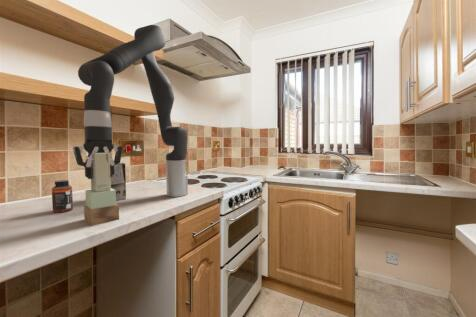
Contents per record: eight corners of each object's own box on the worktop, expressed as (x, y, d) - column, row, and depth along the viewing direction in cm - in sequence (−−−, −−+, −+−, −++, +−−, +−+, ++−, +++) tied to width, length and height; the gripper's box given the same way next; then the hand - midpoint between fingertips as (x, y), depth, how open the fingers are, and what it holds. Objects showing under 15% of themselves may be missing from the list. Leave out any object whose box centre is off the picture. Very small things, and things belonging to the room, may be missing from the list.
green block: (109, 201, 77) (109, 187, 77) (116, 205, 73) (115, 190, 72) (86, 205, 72) (85, 190, 72) (91, 209, 68) (90, 193, 67)
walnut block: (111, 214, 79) (110, 200, 78) (119, 219, 73) (118, 204, 73) (84, 219, 73) (83, 205, 73) (91, 226, 67) (90, 210, 67)
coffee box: (126, 199, 100) (125, 163, 99) (110, 201, 96) (109, 164, 95) (124, 195, 107) (123, 162, 106) (109, 196, 104) (108, 162, 103)
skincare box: (111, 190, 72) (110, 153, 71) (96, 192, 69) (94, 153, 68) (105, 187, 76) (104, 152, 75) (90, 189, 73) (89, 152, 72)
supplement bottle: (74, 210, 83) (73, 180, 82) (54, 214, 78) (52, 182, 78) (71, 207, 87) (69, 178, 86) (51, 210, 82) (49, 180, 81)
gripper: (118, 127, 79) (119, 174, 80) (68, 125, 69) (70, 179, 70) (126, 126, 74) (127, 176, 75) (73, 123, 63) (76, 181, 65)
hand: (100, 177), depth 72 cm, fingers open, 5 cm apart
